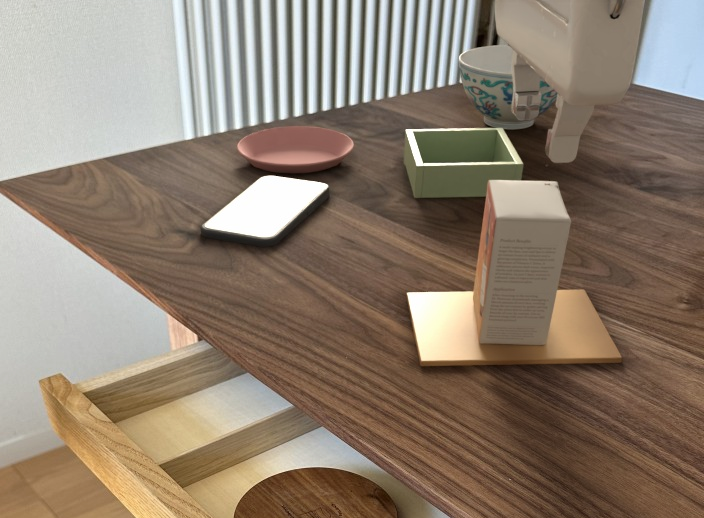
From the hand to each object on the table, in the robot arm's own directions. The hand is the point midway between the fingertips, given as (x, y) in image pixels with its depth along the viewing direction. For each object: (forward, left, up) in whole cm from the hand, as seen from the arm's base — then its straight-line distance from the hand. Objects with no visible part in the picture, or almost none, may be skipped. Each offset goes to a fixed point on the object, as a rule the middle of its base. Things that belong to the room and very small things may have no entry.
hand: (540, 137), depth 62 cm
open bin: (-1, -36, -16) cm, 40 cm away
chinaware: (-11, -58, -16) cm, 61 cm away
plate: (+18, -44, -16) cm, 50 cm away
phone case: (+21, -26, -16) cm, 37 cm away
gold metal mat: (0, 0, -16) cm, 16 cm away
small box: (0, 0, -15) cm, 15 cm away
